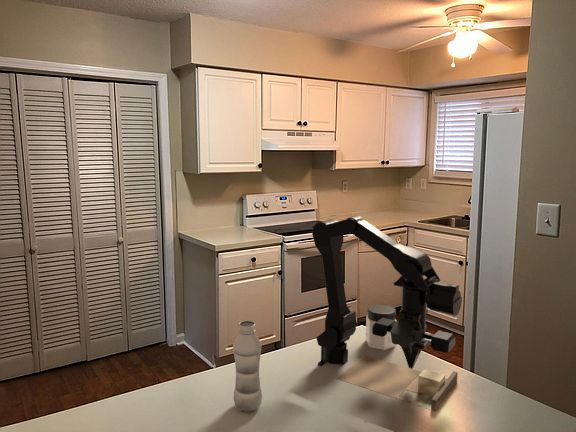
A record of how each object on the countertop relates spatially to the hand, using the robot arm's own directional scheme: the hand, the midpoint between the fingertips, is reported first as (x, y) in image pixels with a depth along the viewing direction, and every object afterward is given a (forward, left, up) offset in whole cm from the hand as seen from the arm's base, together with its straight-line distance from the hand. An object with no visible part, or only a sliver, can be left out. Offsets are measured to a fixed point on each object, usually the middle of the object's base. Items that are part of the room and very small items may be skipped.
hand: (411, 367), depth 114 cm
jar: (-16, +18, -6) cm, 25 cm away
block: (+5, 0, -4) cm, 7 cm away
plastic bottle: (-27, -29, -6) cm, 40 cm away
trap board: (-4, 0, -6) cm, 7 cm away
